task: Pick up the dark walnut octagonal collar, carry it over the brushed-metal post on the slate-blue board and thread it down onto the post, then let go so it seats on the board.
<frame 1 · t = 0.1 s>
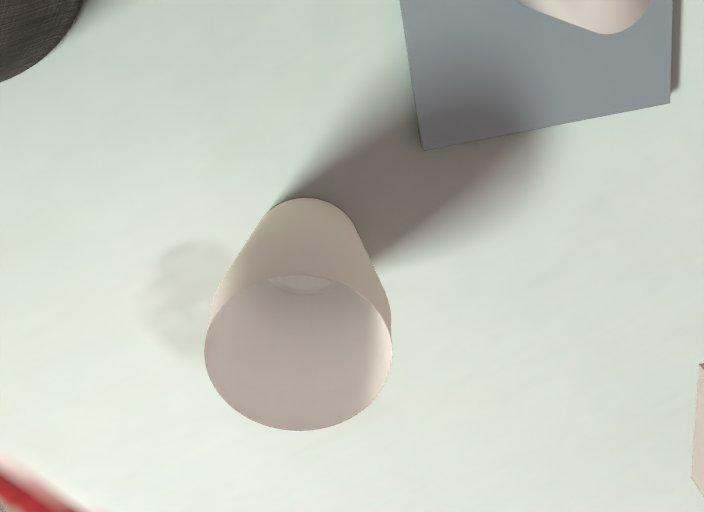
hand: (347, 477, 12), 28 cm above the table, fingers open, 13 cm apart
cup: (306, 244, 41), on the table
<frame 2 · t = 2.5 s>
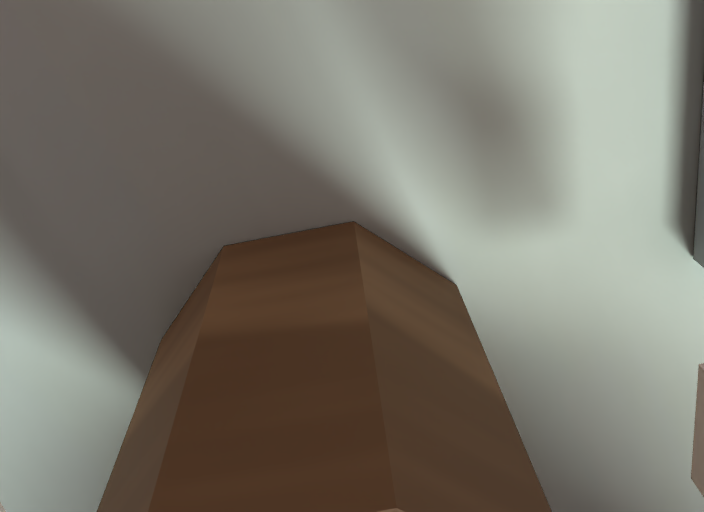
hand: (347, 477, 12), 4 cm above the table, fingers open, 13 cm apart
collar: (320, 363, 16), on the table
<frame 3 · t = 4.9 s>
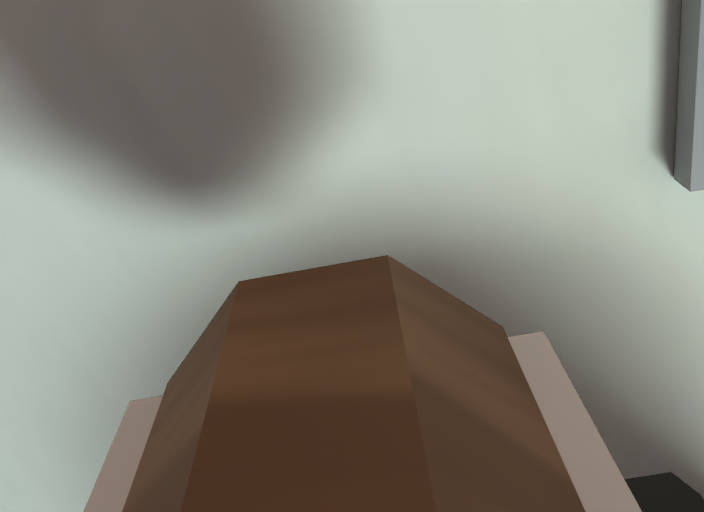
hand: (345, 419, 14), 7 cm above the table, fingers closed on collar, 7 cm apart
collar: (345, 410, 14), point 7 cm above the table, touching gripper
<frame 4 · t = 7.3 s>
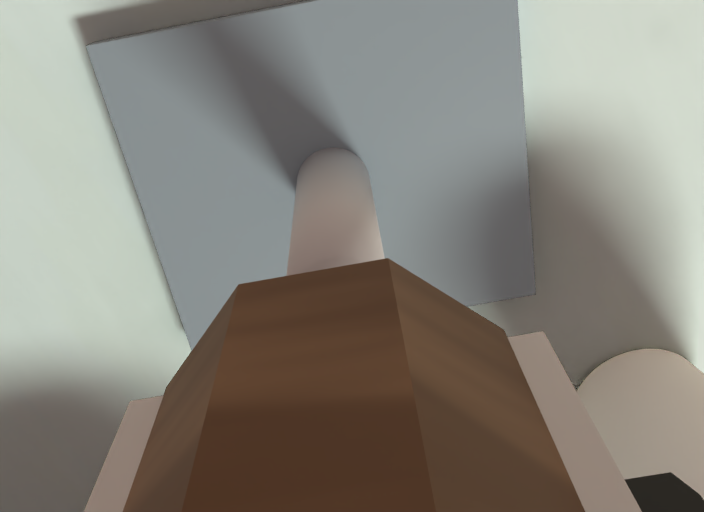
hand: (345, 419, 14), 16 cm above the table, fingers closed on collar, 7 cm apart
post block: (333, 174, 28), on the table
cup: (632, 397, 34), on the table
collar: (346, 413, 14), point 15 cm above the table, touching gripper
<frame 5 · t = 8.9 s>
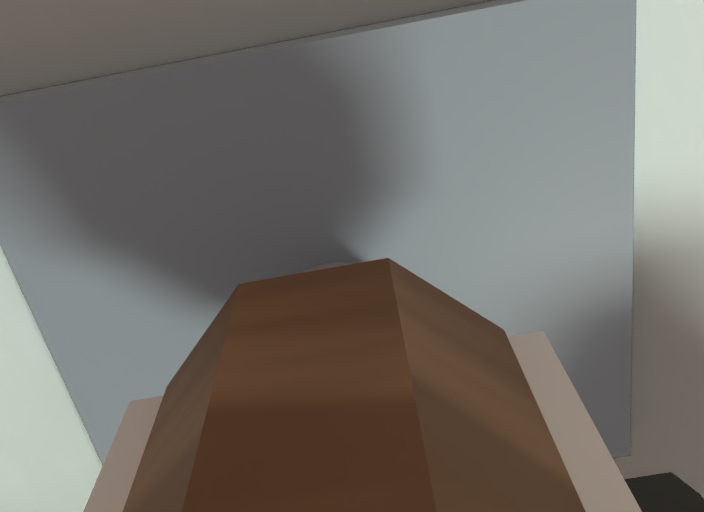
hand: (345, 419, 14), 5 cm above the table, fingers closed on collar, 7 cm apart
post block: (337, 292, 19), on the table
collar: (346, 413, 14), point 5 cm above the table, touching gripper
when the fingers open (5 cm above the table, at t = 9.9 s): collar drops 3 cm, resting on post block.
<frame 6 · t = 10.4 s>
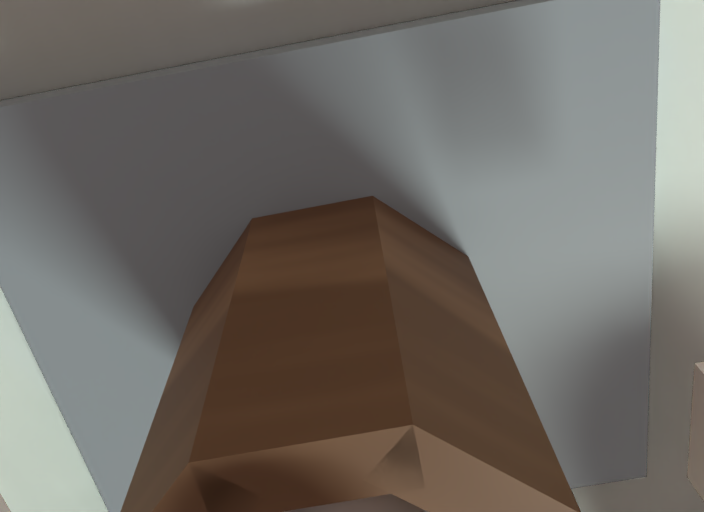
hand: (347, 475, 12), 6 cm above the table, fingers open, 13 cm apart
post block: (341, 307, 18), on the table
collar: (340, 330, 17), point 1 cm above the table, touching post block
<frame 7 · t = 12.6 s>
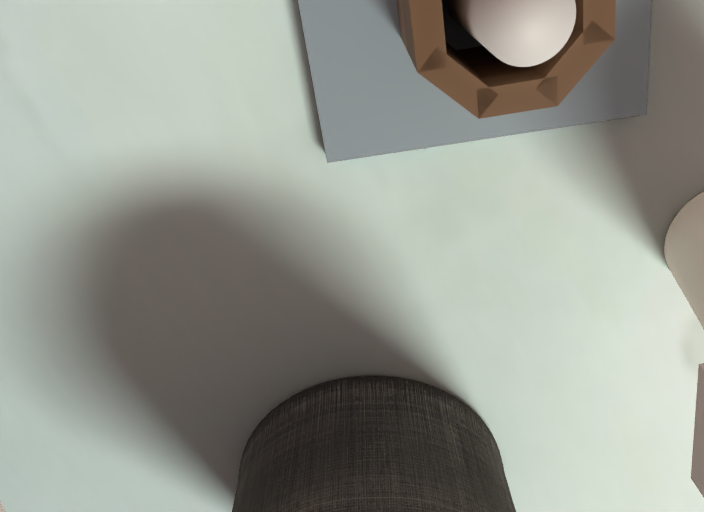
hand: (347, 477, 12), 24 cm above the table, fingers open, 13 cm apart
planter: (370, 476, 45), on the table
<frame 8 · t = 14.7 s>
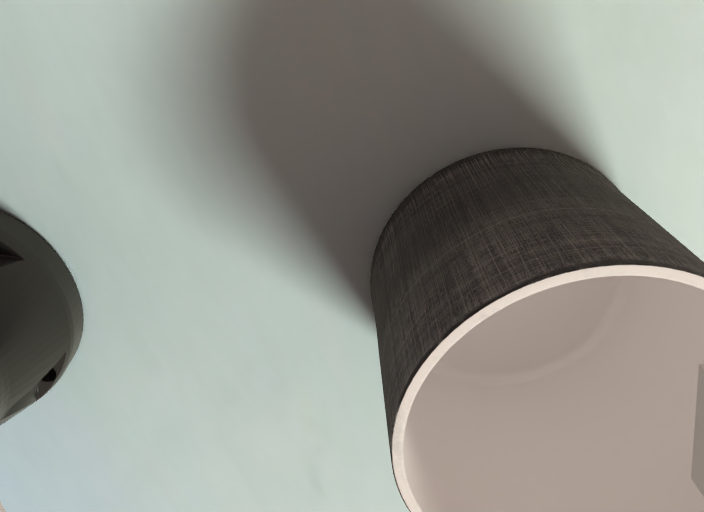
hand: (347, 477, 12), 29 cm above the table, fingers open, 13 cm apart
planter: (503, 274, 44), on the table
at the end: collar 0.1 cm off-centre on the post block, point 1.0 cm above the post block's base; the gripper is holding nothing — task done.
